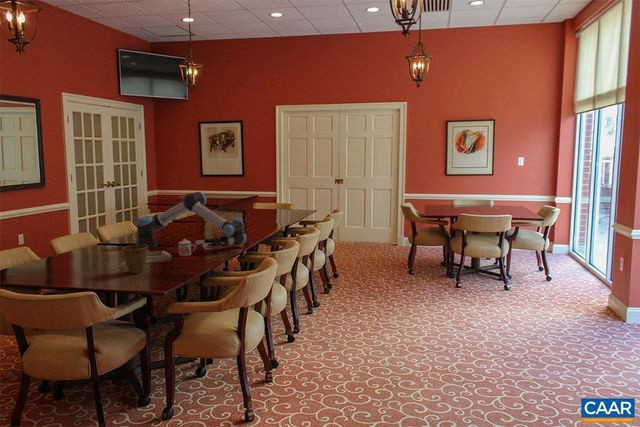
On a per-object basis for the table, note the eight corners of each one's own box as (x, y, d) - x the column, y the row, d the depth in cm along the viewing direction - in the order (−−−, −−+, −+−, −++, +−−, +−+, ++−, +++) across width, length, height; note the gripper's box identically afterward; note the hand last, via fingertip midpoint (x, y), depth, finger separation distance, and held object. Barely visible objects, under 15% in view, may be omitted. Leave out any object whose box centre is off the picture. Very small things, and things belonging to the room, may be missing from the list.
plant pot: (140, 268, 316) (139, 243, 314) (154, 271, 307) (152, 246, 305) (119, 272, 305) (117, 247, 303) (131, 276, 295) (130, 250, 293)
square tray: (134, 260, 338) (134, 254, 338) (163, 256, 350) (163, 250, 349) (141, 264, 325) (141, 258, 324) (171, 260, 336) (171, 254, 335)
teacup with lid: (177, 256, 348) (177, 240, 346) (179, 253, 357) (178, 238, 355) (195, 255, 350) (194, 239, 348) (196, 253, 358) (195, 237, 357)
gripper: (233, 248, 360) (206, 252, 348) (219, 243, 380) (193, 246, 368) (233, 238, 359) (206, 241, 347) (219, 233, 379) (192, 236, 367)
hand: (199, 244), depth 357 cm, fingers open, 13 cm apart
